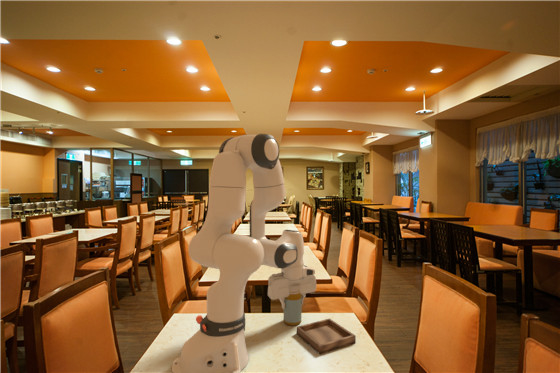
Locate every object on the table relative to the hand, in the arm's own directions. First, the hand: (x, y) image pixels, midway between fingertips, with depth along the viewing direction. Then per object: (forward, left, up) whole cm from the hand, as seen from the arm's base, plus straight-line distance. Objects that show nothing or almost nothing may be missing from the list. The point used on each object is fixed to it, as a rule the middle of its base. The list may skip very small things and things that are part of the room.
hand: (292, 306), depth 117 cm
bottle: (0, 0, -6) cm, 6 cm away
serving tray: (+4, -16, -6) cm, 18 cm away
